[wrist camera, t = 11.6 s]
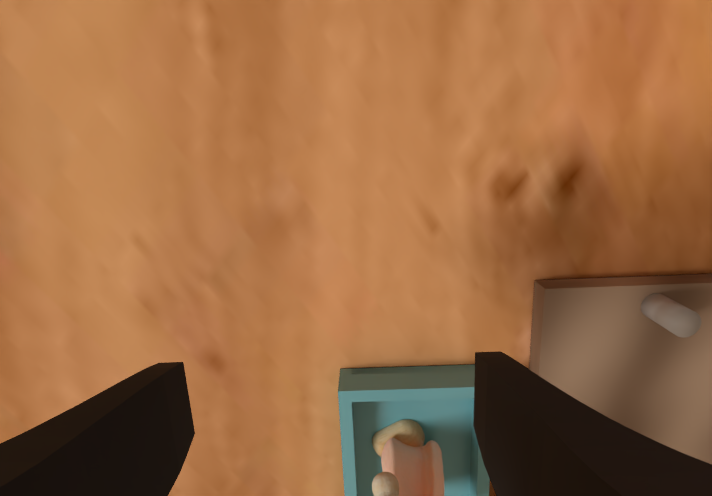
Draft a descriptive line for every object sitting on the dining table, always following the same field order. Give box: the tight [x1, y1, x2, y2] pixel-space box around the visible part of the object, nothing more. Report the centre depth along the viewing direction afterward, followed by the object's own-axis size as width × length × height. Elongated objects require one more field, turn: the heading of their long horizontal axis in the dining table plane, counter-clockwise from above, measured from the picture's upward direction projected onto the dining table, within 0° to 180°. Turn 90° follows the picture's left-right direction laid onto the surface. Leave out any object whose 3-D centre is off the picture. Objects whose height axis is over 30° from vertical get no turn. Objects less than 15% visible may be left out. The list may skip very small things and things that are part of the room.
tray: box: [338, 364, 490, 496], centre depth 22 cm, size 7×11×2 cm, turn 3°
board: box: [529, 274, 712, 465], centre depth 21 cm, size 10×14×3 cm
